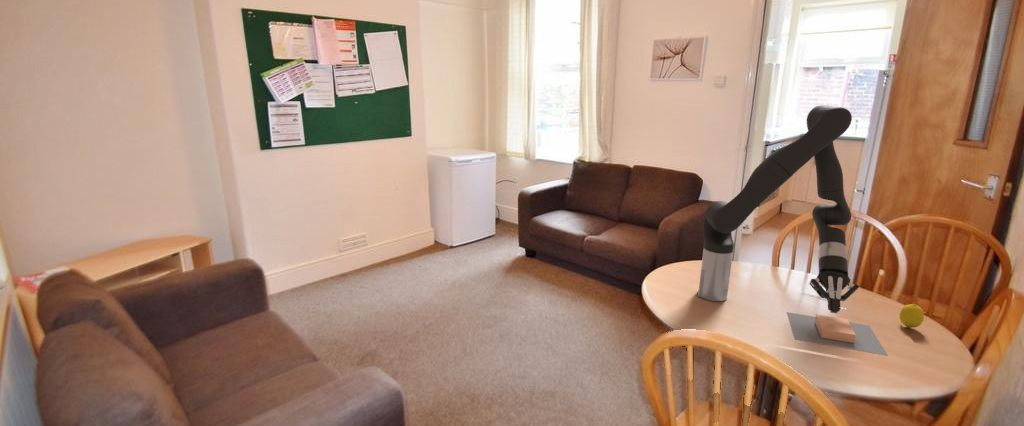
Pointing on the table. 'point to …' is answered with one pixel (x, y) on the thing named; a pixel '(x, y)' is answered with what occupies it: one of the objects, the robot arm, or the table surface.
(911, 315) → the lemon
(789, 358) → the table surface
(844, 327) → the tile
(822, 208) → the robot arm
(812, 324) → the mat
